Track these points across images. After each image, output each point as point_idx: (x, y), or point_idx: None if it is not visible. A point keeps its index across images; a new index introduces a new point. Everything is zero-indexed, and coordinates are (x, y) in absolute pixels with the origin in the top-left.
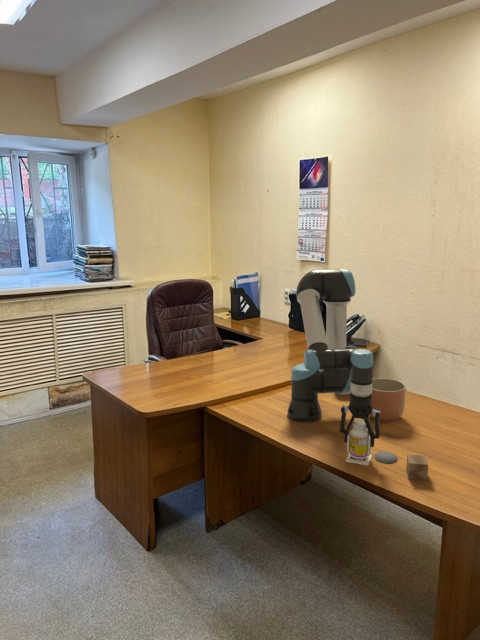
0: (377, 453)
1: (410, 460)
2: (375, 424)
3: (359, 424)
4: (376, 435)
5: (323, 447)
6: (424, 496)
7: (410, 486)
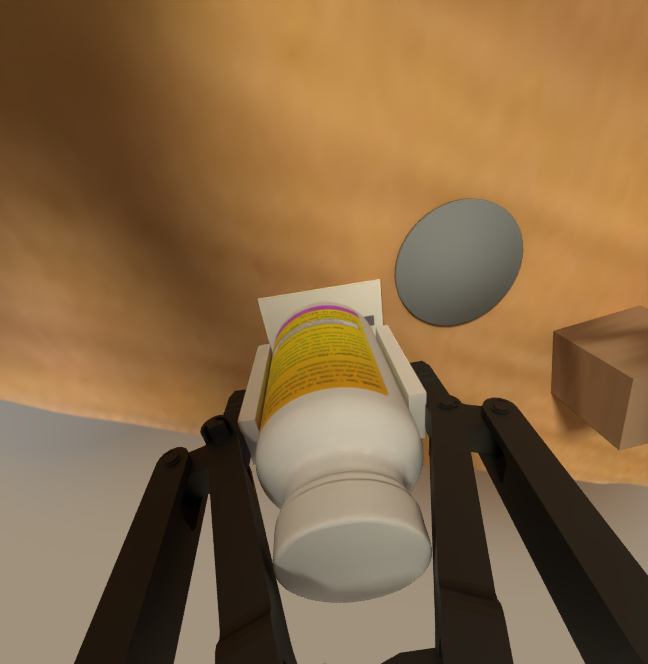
0: (409, 255)
1: (633, 427)
2: (560, 594)
3: (359, 584)
4: (493, 464)
5: (111, 325)
6: (590, 454)
7: (552, 428)
